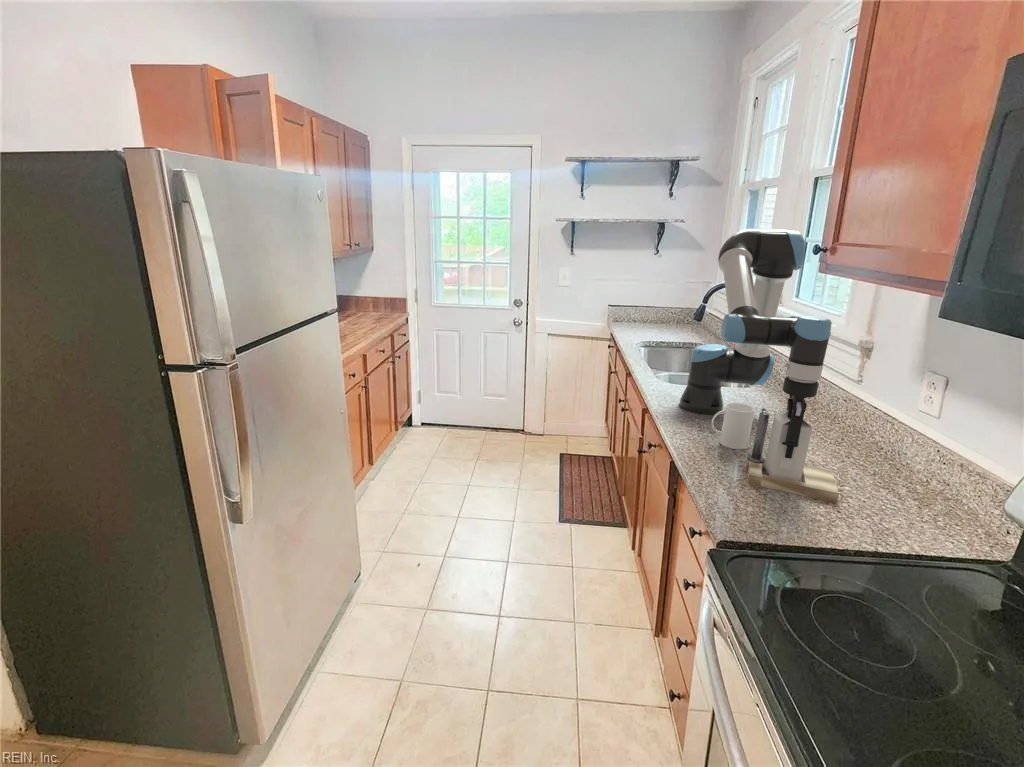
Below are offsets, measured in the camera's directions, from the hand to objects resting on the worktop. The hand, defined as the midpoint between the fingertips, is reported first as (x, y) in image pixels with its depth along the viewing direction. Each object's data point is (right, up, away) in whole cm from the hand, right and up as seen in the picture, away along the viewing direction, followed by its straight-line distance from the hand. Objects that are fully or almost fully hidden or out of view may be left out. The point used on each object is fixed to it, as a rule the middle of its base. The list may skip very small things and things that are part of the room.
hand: (784, 461), depth 134 cm
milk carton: (0, -4, +1) cm, 4 cm away
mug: (-5, +2, +24) cm, 24 cm away
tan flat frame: (+2, -5, +1) cm, 6 cm away
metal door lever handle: (-4, -3, +9) cm, 10 cm away
